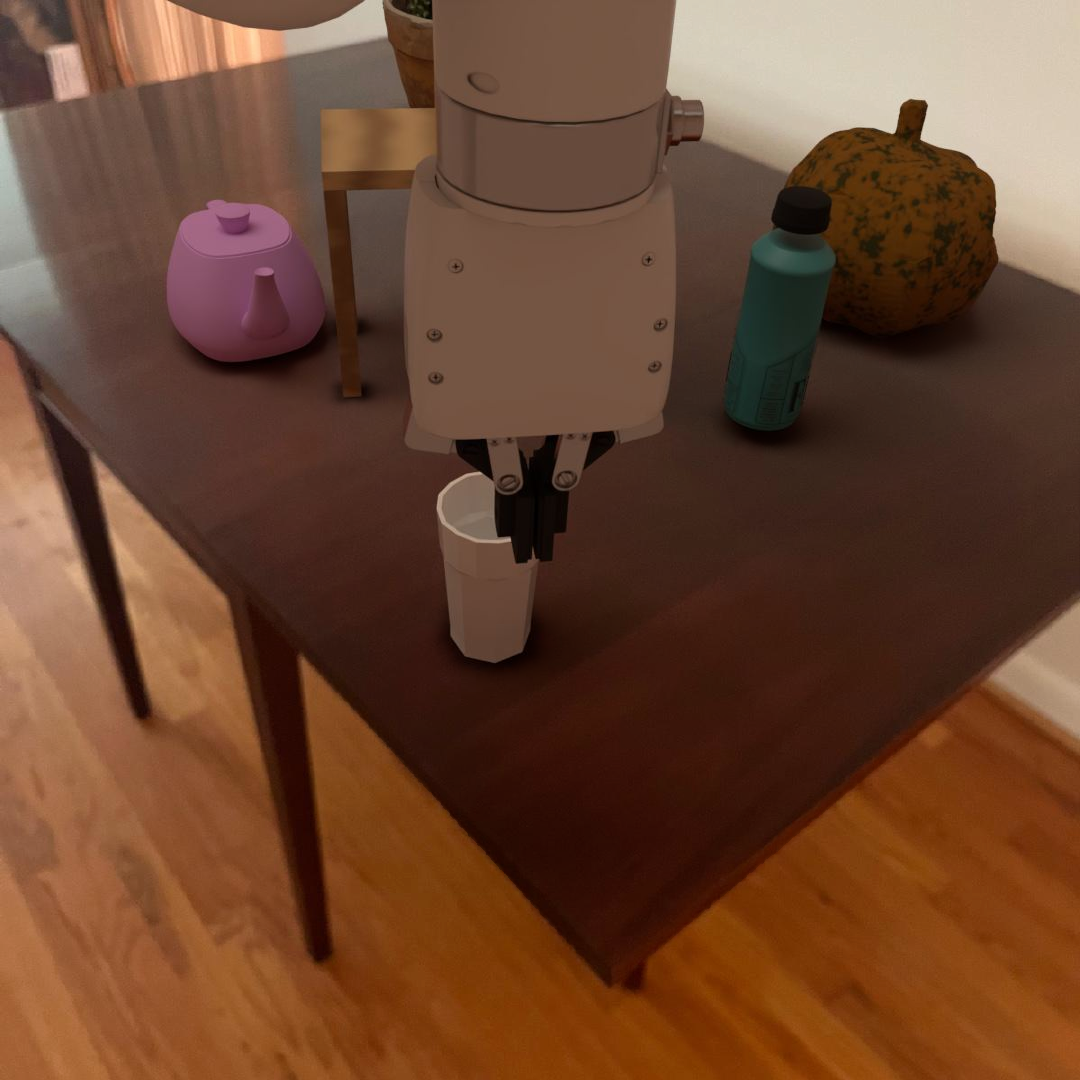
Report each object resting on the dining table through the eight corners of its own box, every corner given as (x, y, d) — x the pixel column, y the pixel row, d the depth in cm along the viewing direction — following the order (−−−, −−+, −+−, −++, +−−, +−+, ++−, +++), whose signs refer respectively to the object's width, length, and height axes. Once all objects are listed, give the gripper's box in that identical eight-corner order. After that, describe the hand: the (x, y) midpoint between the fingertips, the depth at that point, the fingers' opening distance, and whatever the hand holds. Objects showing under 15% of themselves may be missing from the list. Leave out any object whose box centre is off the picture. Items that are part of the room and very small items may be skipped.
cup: (533, 593, 72) (540, 467, 64) (547, 666, 67) (557, 539, 60) (436, 600, 71) (432, 473, 64) (443, 675, 66) (440, 547, 59)
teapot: (155, 300, 98) (128, 178, 90) (294, 274, 103) (279, 156, 95) (208, 414, 85) (181, 284, 77) (363, 379, 90) (353, 252, 82)
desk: (343, 397, 88) (321, 171, 75) (341, 323, 97) (320, 109, 84) (554, 386, 91) (568, 165, 78) (533, 315, 99) (542, 106, 86)
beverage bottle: (788, 455, 85) (848, 221, 71) (708, 435, 86) (752, 203, 73) (802, 412, 89) (860, 185, 76) (726, 394, 91) (769, 168, 77)
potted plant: (370, 118, 134) (355, -108, 117) (503, 101, 140) (507, -115, 123) (419, 174, 122) (411, -68, 105) (563, 153, 128) (576, -78, 111)
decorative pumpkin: (791, 360, 94) (848, 129, 82) (740, 266, 110) (781, 63, 98) (1005, 368, 96) (1091, 144, 84) (923, 275, 112) (985, 77, 100)
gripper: (729, 95, 39) (668, 479, 51) (320, 100, 37) (359, 500, 49) (797, 179, 34) (710, 586, 46) (321, 192, 31) (364, 615, 44)
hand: (528, 541), depth 47 cm, fingers closed
